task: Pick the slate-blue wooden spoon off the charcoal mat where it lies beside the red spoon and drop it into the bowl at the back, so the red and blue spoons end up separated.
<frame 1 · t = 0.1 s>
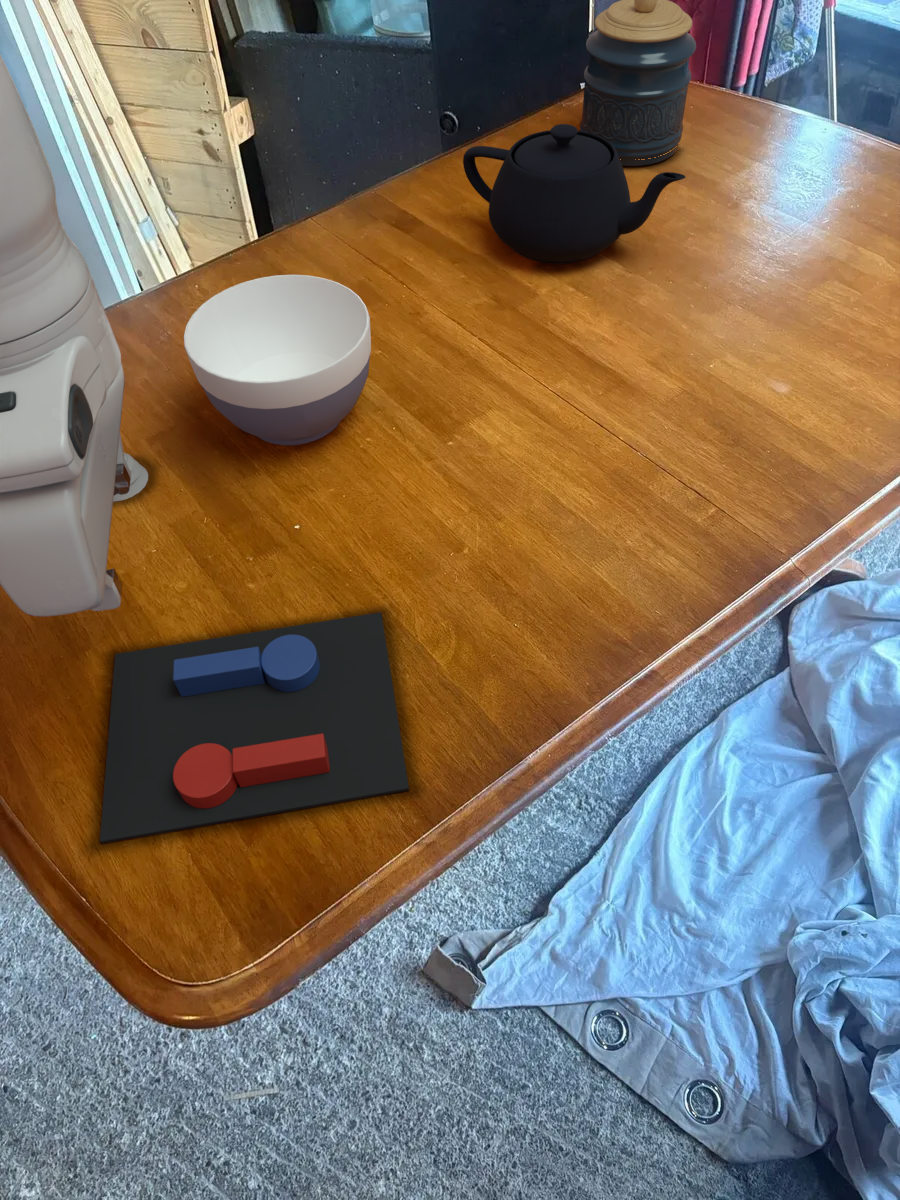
hand: (113, 541, 54), 15 cm above the table, tool pointing down, fingers open, 8 cm apart
red spoon: (254, 773, 59), resting on mat
canister: (628, 146, 115), on the table
bowl: (296, 415, 84), on the table
blue spoon: (251, 675, 64), resting on mat
teapot: (564, 242, 101), on the table
mat: (253, 719, 63), on the table
chalice: (120, 483, 79), on the table
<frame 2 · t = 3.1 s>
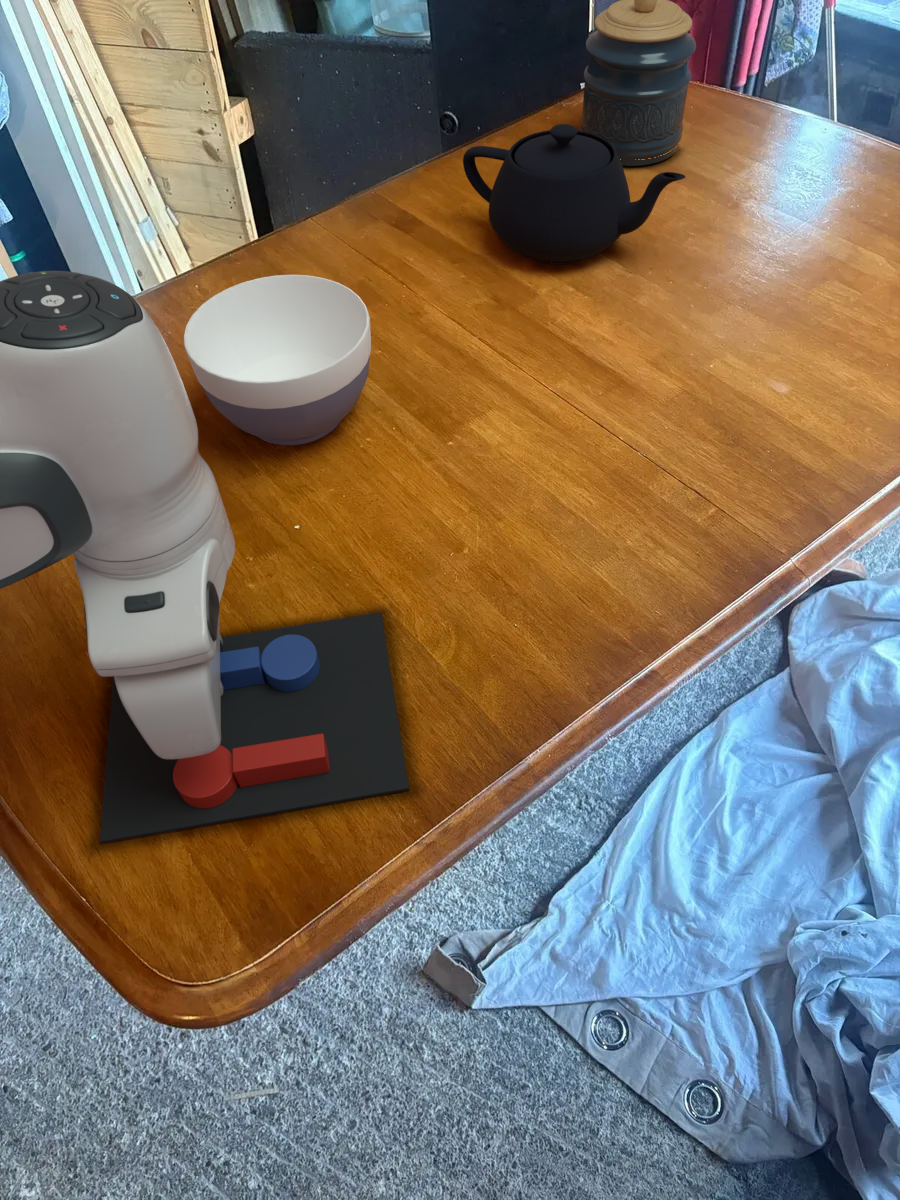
hand: (211, 671, 63), 2 cm above the table, tool pointing down, fingers closed on blue spoon, 2 cm apart
blue spoon: (251, 675, 64), resting on mat, touching gripper
everything else where it was.
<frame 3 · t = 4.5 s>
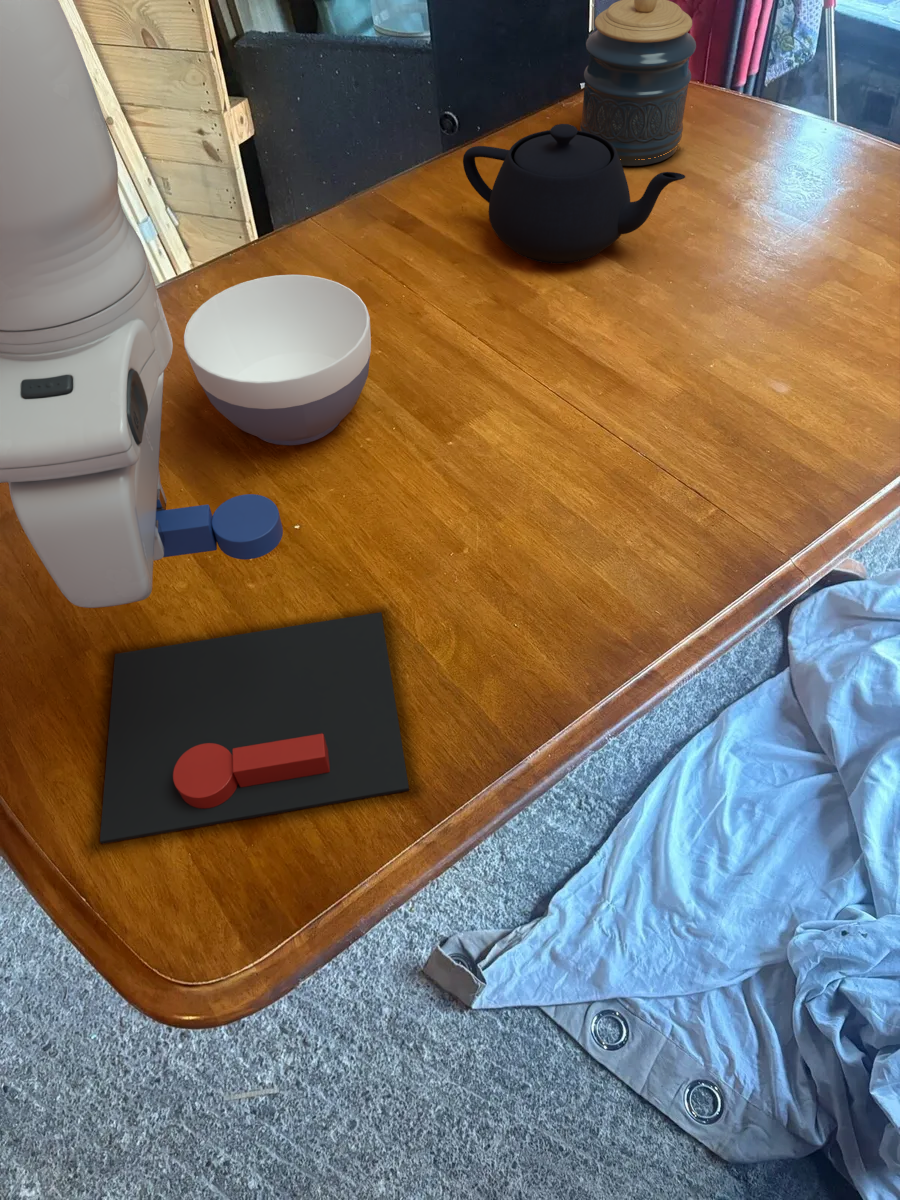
hand: (151, 533, 53), 16 cm above the table, tool pointing down, fingers closed on blue spoon
blue spoon: (200, 542, 54), point 14 cm above the table, touching gripper
everything else where it was.
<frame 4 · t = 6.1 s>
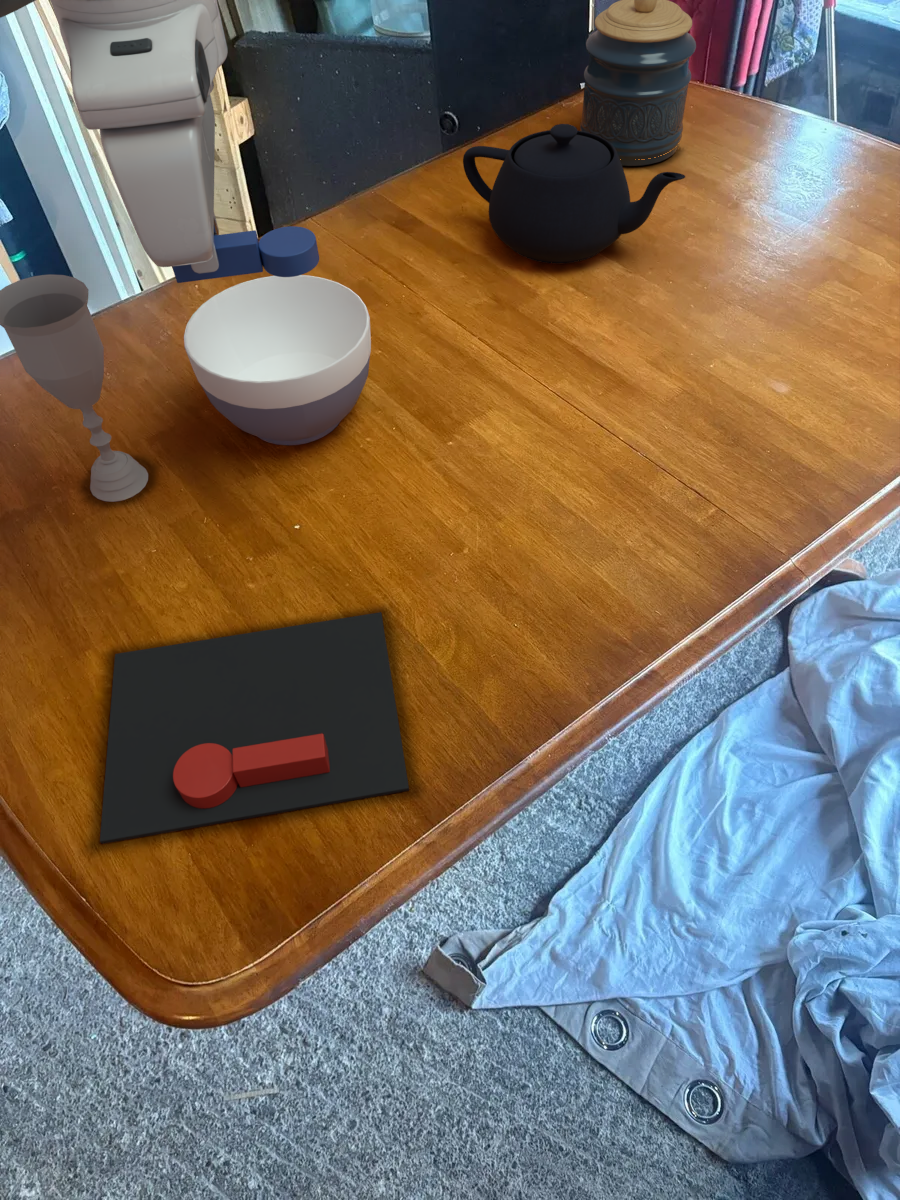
hand: (207, 255, 62), 21 cm above the table, tool pointing down, fingers closed on blue spoon
blue spoon: (248, 267, 63), point 20 cm above the table, touching gripper
everything else where it was.
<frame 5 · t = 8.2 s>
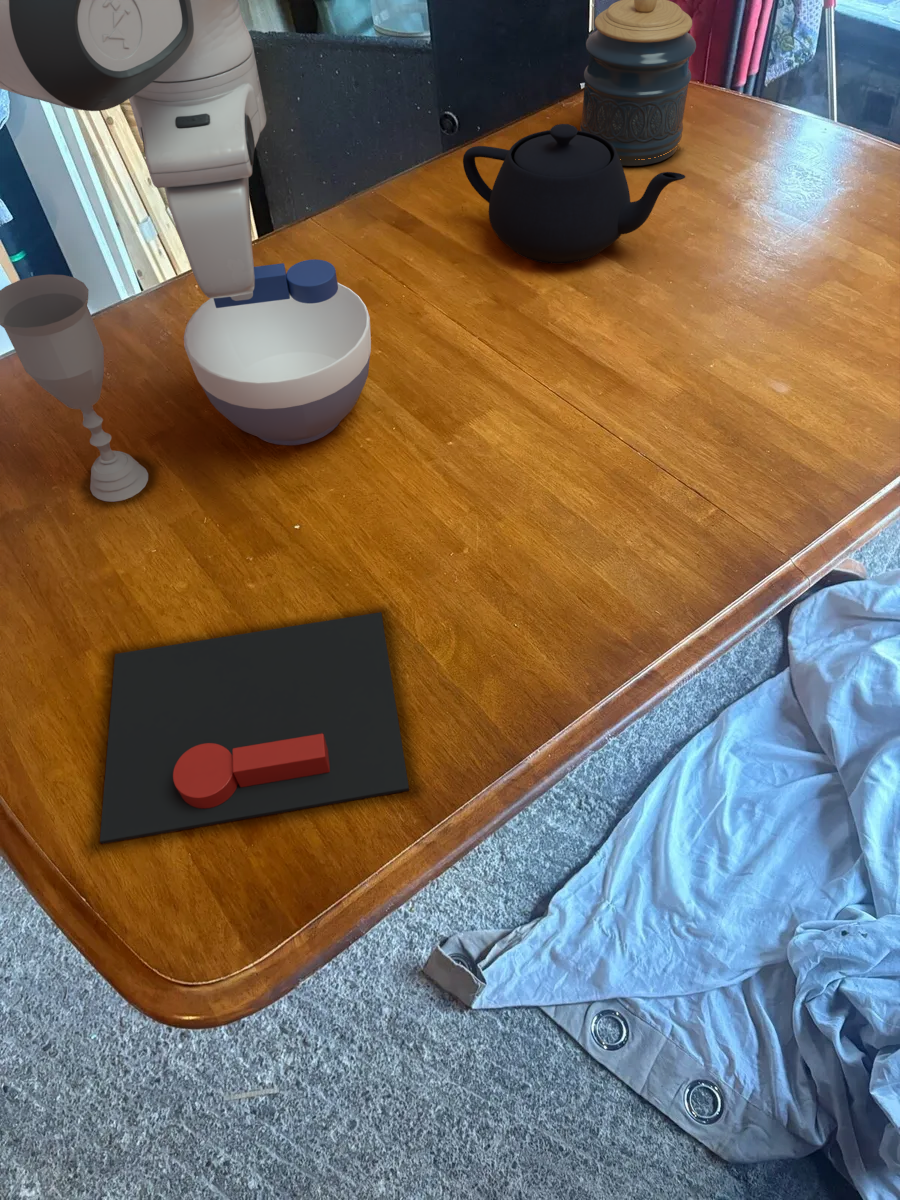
hand: (242, 284, 72), 14 cm above the table, tool pointing down, fingers closed on blue spoon
blue spoon: (277, 294, 73), point 13 cm above the table, touching gripper
everything else where it was.
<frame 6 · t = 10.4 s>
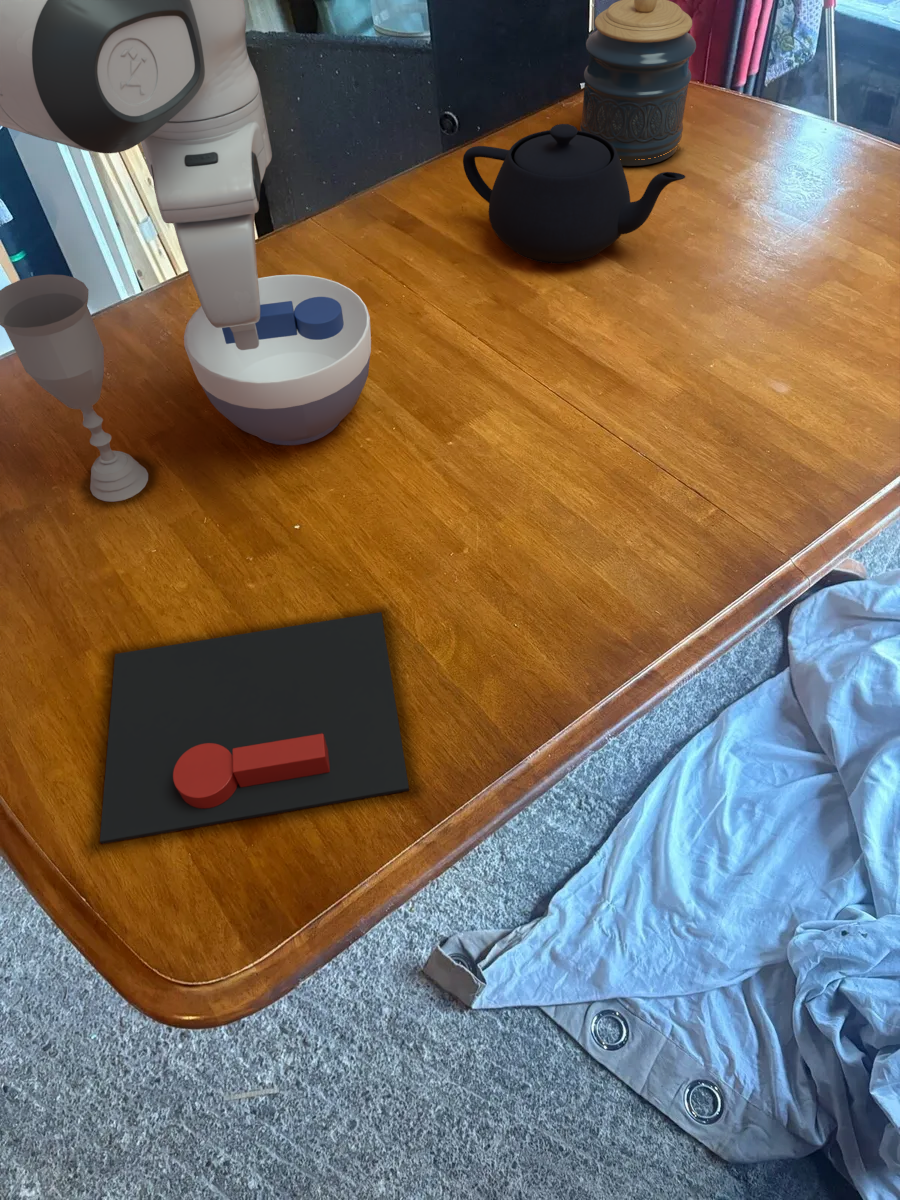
hand: (247, 311, 74), 12 cm above the table, tool pointing down, fingers open, 8 cm apart
bowl: (296, 415, 84), on the table, touching blue spoon
blue spoon: (285, 330, 76), point 10 cm above the table, touching bowl
everything else where it was.
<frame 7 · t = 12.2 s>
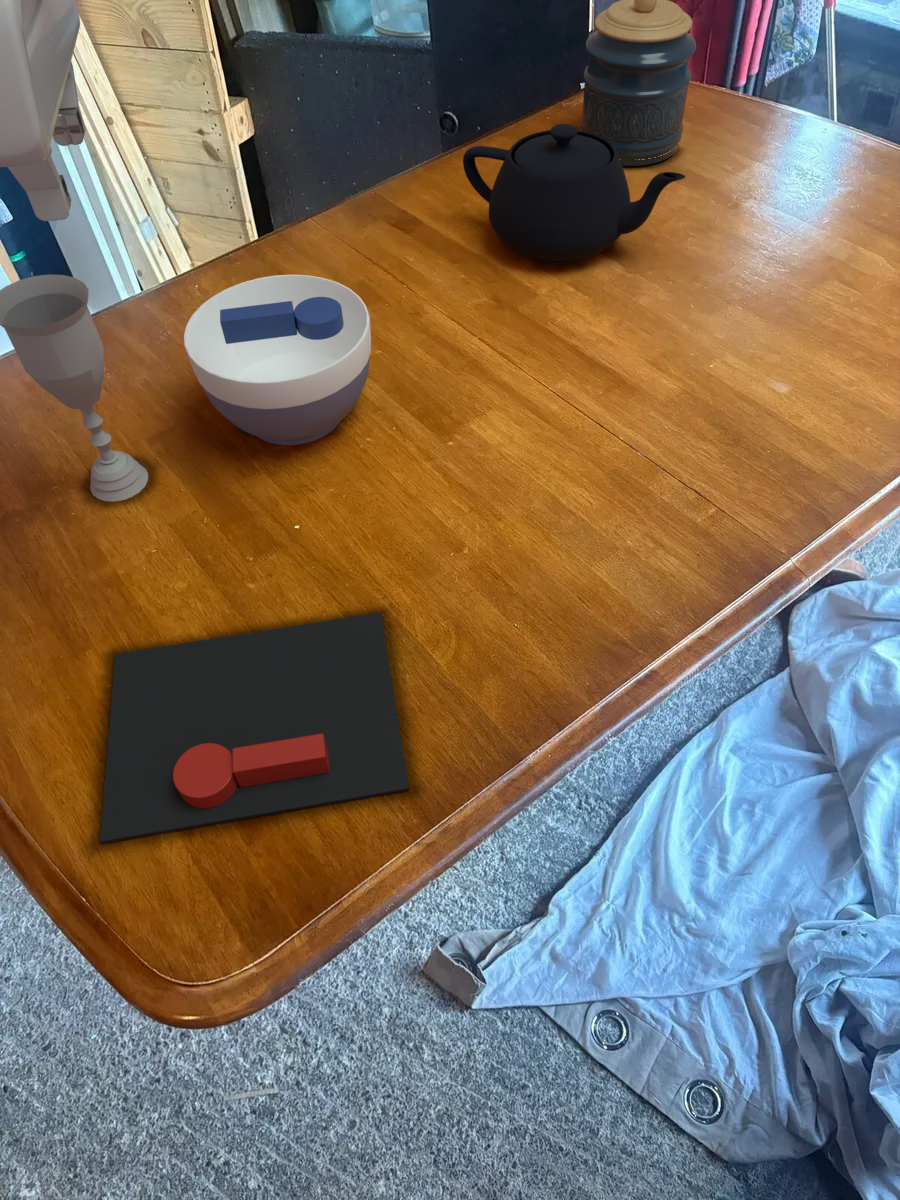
hand: (64, 175, 52), 29 cm above the table, tool pointing down, fingers open, 8 cm apart
nothing on the table moved.
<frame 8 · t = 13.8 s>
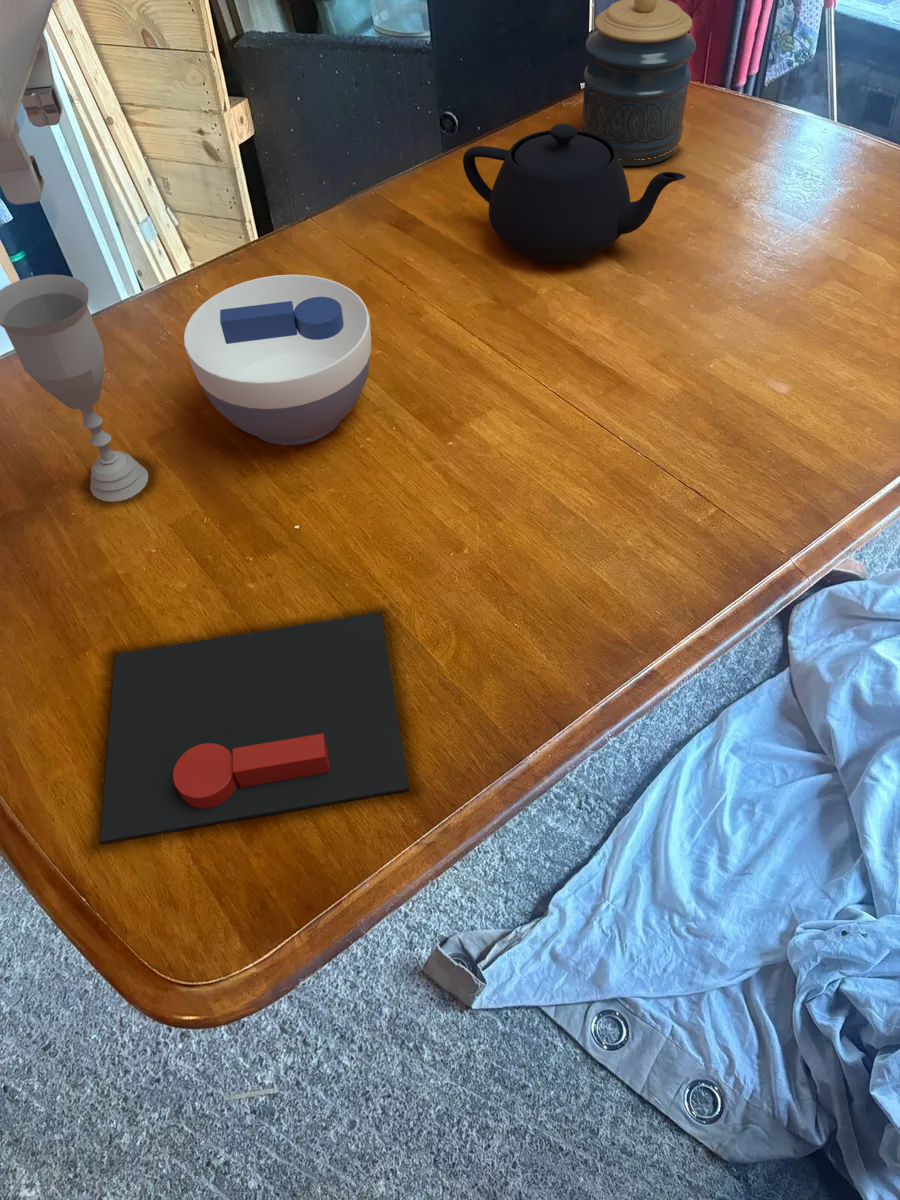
hand: (39, 157, 50), 31 cm above the table, tool pointing down, fingers open, 8 cm apart
nothing on the table moved.
at the end: blue spoon 1.2 cm from the bowl (horizontally); red spoon moved 0.0 cm from its start; the gripper is holding nothing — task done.
